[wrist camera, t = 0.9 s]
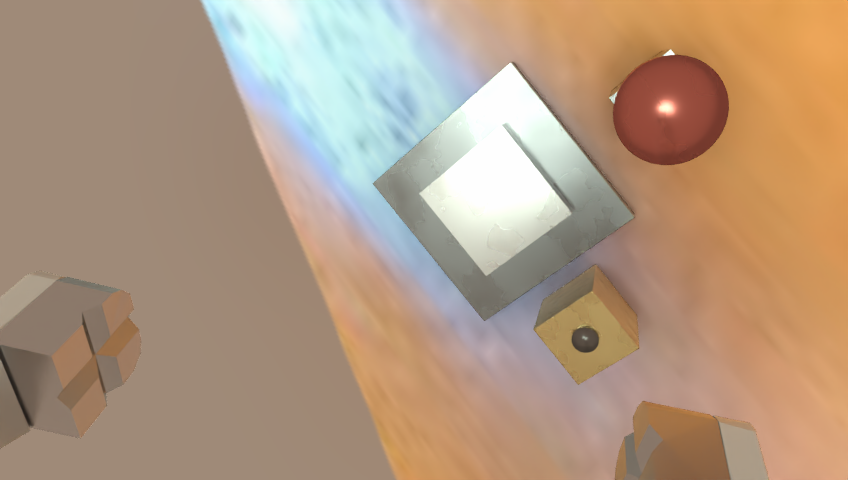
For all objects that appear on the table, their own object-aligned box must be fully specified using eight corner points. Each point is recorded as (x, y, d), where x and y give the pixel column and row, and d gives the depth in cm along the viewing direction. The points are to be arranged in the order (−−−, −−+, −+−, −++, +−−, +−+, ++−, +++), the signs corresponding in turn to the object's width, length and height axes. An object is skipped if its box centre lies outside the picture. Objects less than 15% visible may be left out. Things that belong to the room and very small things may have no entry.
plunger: (719, 103, 38) (752, 118, 29) (648, 155, 40) (656, 185, 31) (668, 37, 38) (683, 30, 29) (598, 93, 40) (591, 104, 30)
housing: (637, 315, 48) (639, 350, 43) (583, 348, 50) (577, 386, 44) (595, 264, 48) (592, 292, 42) (543, 299, 50) (532, 331, 44)
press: (734, 143, 43) (761, 164, 35) (487, 315, 52) (461, 364, 43) (605, -19, 43) (601, -38, 35) (378, 180, 51) (331, 204, 43)
